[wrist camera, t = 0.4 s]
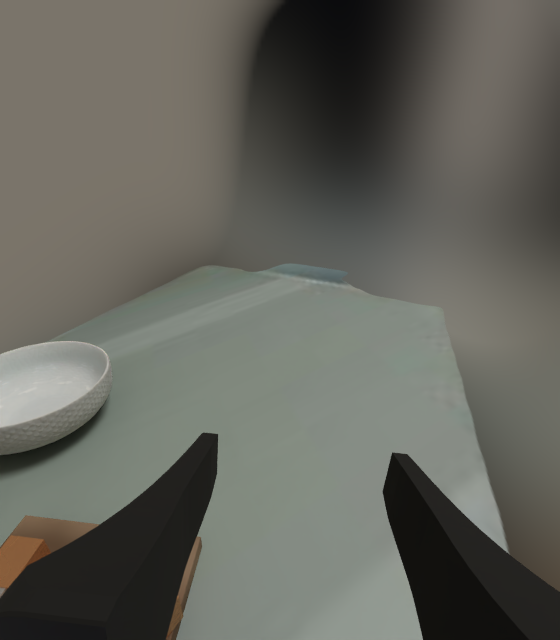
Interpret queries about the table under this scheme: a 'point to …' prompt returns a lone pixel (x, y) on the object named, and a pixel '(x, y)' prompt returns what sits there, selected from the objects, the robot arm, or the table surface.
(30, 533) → the board
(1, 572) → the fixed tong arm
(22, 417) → the cereal bowl
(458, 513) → the robot arm
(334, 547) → the table surface
